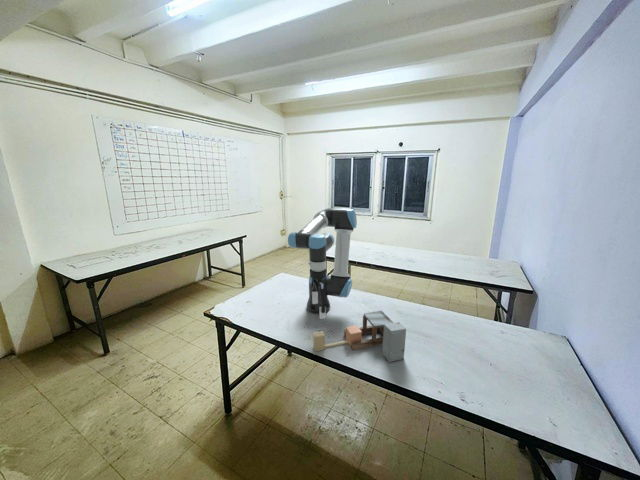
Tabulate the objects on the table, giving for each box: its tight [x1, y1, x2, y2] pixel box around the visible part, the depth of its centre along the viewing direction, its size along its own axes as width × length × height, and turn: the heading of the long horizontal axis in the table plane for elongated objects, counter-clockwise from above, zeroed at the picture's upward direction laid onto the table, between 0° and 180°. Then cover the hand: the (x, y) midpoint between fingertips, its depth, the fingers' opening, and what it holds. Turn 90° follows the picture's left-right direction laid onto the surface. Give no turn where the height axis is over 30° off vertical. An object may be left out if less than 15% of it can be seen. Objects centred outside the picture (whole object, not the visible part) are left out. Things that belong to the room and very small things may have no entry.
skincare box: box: [381, 321, 407, 363], centre depth 117 cm, size 8×7×16 cm
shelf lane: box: [343, 310, 395, 351], centre depth 130 cm, size 12×22×11 cm, turn 106°
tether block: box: [312, 325, 363, 352], centre depth 126 cm, size 6×24×8 cm, turn 106°
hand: (318, 310), depth 119 cm, fingers open, 13 cm apart
